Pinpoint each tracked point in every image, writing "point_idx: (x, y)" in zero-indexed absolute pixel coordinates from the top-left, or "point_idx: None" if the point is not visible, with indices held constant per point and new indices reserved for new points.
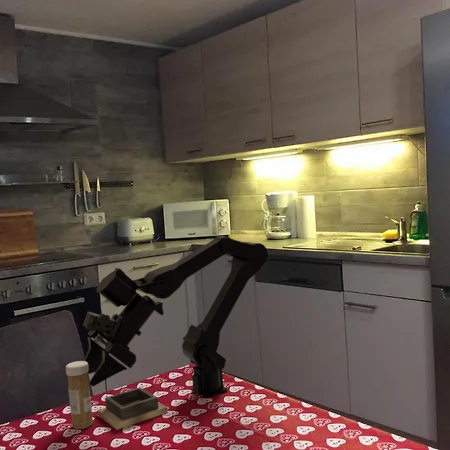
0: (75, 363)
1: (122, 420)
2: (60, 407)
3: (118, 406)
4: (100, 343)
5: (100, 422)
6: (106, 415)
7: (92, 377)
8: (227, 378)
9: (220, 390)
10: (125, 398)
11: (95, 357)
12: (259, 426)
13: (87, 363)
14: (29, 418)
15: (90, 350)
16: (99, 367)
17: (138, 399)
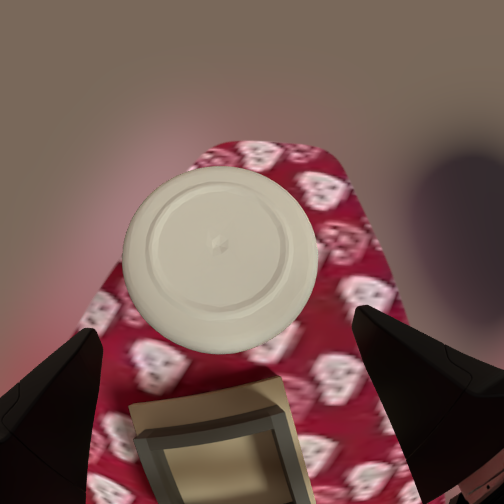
0: (245, 236)
1: (145, 429)
2: (389, 271)
3: (162, 438)
4: (497, 471)
5: (215, 374)
6: (214, 397)
7: (73, 346)
8: None
9: None
10: (285, 472)
11: (417, 418)
12: None
13: (193, 346)
14: (347, 193)
15: (461, 389)
16: (17, 394)
17: (292, 500)
